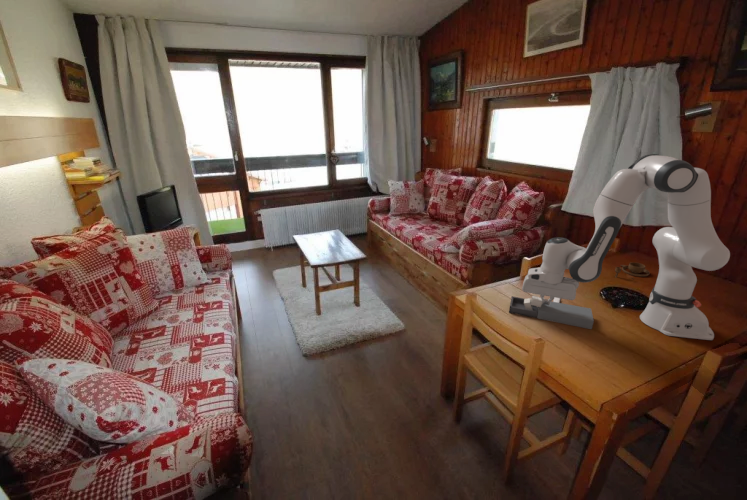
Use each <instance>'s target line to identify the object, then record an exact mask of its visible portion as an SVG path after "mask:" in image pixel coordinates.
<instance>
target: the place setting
mask: <svg viewBox="0 0 747 500" xmlns="http://www.w3.org/2000/svg"><path fill="white" fill-rule="evenodd" d="M614 269H615V270H614V271H615V276H614V278H618V276H619V274H620V273H621V272H623V273H625V274H627V275H629V276H634V277H639V278H640V277H641V278H644V277H648V276H650V273H651V272H650V271H649V270H647V269H646V265H645V264H643V263H640V262H631V261H630V262H629V264H628V265H625V264H620V266H616V267H615V268H614ZM626 269H628V270H629V271H630V272H629V271H627V270H626ZM640 273H641V274H640ZM642 273H645V274H642ZM631 279H632V280H634V278H633V277H631Z"/></svg>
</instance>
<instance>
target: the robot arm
mask: <svg viewBox="0 0 747 500" xmlns="http://www.w3.org/2000/svg"><path fill="white" fill-rule="evenodd" d="M615 172H616V173H614V174H613V176H612V177H610V179H609V180H608V181H607V182H606V184H605V186H604V187H603V188H602V191H601V192H600V194H599V196H598V197H597V198H596V201H595V203H594V206H593V209H592V214H593V215H592V216H593V218H594V223H595V228H594V233H593V236H592V238H591V239H590V241H589V243H588V244H587V247H585V246H580V245H577V244H575V243H574V242H572V241H570V240H569V239H568V238H566V237H562V236H561V237H552V238H550V239H548V240H547V241H546V243H545V246H544V249H543V253H542V263H541V265H540V267H532V268H529V269H528V272H527V274H526V275H525V277H524V279H523V282H522V288H521V289H522V292H523V293H529V294H534V295H540V298H541V299H542V304H546V305H550V302H551V301H552V302H553V300H554V297H556V298H560V299H562V300H568V301H573V300H576V296H577V289H578V288H579V286H580V283H583V284H584V283H591V282H593V281H595V280H597V279H598V278H599V277H600V276H601V274H602V270H603V269H602V268H603V263H604V260H605V257H606V256H607V254H608V252H609V250H610V248H611V246H612V245H613V244H614V241H615V240H616V237H617V236H618V233H619V231H620V229H621V227H622V226H623V223H624V222H625V219H626V218H627V216H628V215H629V214H630V211H631V210H632V208H633V207H634V205H635V203H636V202H637V200H638V199H639V197H640V195H642V194H643V192H645V191H646V190H648V189H654V190H658V191H660V192H662V193H667V221H668V223H669V225H670V226H664V227H662V228H660V229H659V230H658V229H657V231H656V232H655V233H654V235H653V237H652V245H653V246H654V248H655V249H656V253H657V258H658V265H659V266H658V268H659V269H658V274H657V277H656V282H655V285H654V286H653V287H652V290H651V292H650V294H649V297H648V298H649V299H648V303H647V305H646V307H645V309H644V310H643V311H642V313H641V314H640V315H639V319H640V320H641V322H642V323H644V324H645V325H647V326H648V327H650V328H652V329H654V330H656V331H658V332H660V333H662V334H664V335H665V336H668V337H677V338H678V337H679V338H687V339H696V340H697V339H698V340H704V341H705V340H706V341H713V340H714V338H715V333H714V331H713V330H712V328H711V327H710V326H709V325H710V323H709V319H708V318H707V316H706V315H705V313H704V312H702V311H701V310H700V309H699V308H700V307H702V303H701V302H700V301H699V300H697V298H696V297H695V296H693V292H694V290H695V287H696V284H697V283H698V282H697V281H698V279H697V276H696V273H695V272H694V270H693V268H696V269H698V270H704V271H707V272H708V271H709V272H710V271H711V272H712V271H713V272H714V271H716V270H720V269H722V268H723V267H724V266H725V265H727V264H728V262H729V261H730V257H731V252H730V250H729V248H728V247H727V246H726V245H724V243H723V242H722V240H721V239H720V238H719V236H718V234H717V232H716V230H715V228H714V224H713V222H712V217H711V216H712V215H711V214H712V213H711V212H712V211H711V206H712V204H711V203H712V189H711V182H710V178H709V174H708V172H707V171H706V170H705V169H703V168H700V167H694V166H693V165H692V164H690V163H689V162H687V161H686V160H683V159H679V158H677V157H673V156H670V155H669V156H667V155H661V154H656V153H654V154H653V153H652V154H644V155H642V156H640V157H639V158H637V159H636V160H635V161H634V162H633V163H632V164H631V165H629V166H628V167H627V168H622V169H620V170H618V171H615ZM566 270H568V271H569V275H570V277H566V276H564V275H565V271H566ZM545 296H546V297H549V298H547V299H546V298H545Z"/></svg>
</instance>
